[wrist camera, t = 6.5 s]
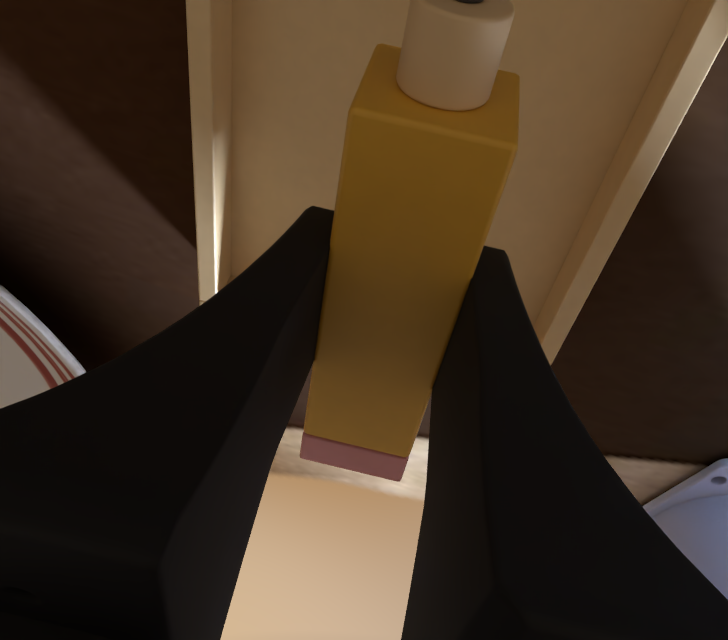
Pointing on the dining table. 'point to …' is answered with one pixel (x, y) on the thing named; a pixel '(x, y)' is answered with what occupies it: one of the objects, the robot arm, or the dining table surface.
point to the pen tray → (535, 139)
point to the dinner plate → (29, 354)
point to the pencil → (409, 228)
